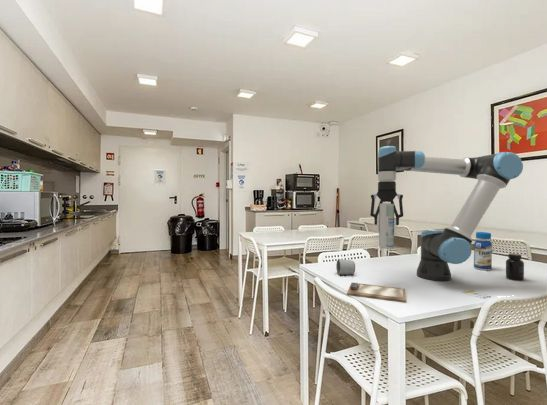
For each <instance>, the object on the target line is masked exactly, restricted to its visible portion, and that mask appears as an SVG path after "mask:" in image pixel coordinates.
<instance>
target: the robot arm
mask: <svg viewBox="0 0 547 405" xmlns="http://www.w3.org/2000/svg"><path fill="white" fill-rule="evenodd" d="M377 154H378V155H377V167H378V168H377V169H378V170H377V181H378V183H377V192H376V193H375V194H374V193H373V194H371V195H370V198H371V206H370V214H369V215H370V216H371V217H373V219H374V222H373V223H374V225H376V232H377V233H379V204H382V203H391V204H394V234H396V233H397V226H399V224H400V218H403V217H404V207H403V197H404V195H403V194H399V193H397V183H396V180H397V172H399V171H405V172H416V173H419V172H421V173H431V174H442V175H443V174H444V175H455V176H456V175H457V176H459V177H461V178H466V179H474V180H477V182H476V184H475V186H474V187H473V189H472V191H471V192H470V194H469V195H468V197H467V199H466V201H465V202H464V204H463V205H462V207H461V209H460V210H459V212H458V214H457V216H456V217H455V219H454V220H453V222H452V223H451V225H450V226H448V227H445V228H444V229H443V230H422V231H421V236H420V260H419V263H418V266H417V269H416V276H417V277H420V278H421V279H425V280H429V281H438V282H439V281H440V282H441V281H442V282H446V281H451V280H452V272H451V268H450V267H449V264H453V265H459V264H463V263H464V262H466V261H467V260H469V258H470V257H471V255H472V252H473V251H472V246H471V244H472V243H473V238H472V235H473V234H474V232H475V230H476V229H477V227H478V226H479V224H480V222H481V220H482V218H483V216H484V215H485V214H486V212H487V210H488V209H489V208H490V206H491V204H492V202H493V201H494V199H495V198H496V196H497V194H498V192H499V191H500V190H501V189H504V188H505V189H506V187H507V185H509V183H510V180H513V179H516V178H518V177H519V176H520V175H521V174H522V172H523V171H524V170H523V169H524V163H523V161H522V158H521V157H520V156H519V155H518V154H516V153H515V152H509V151H501V152H498V153H493V154H488V155H482V156H475V157H463V158H462V159H460V158H447V157H434V156H426V155H425V153H424V151H421V150H406V151H405V150H402V151H401V150H400V151H399V150H397V147H396V146H393V145H386V146H385V145H384V146H381V147H380V148H379V149H378V152H377ZM377 197H378V199H379V203H378V206H377V209H376V211H375V205H376V204H375V201H376V199H377ZM396 197H397V199H398V203H399V204H398V205H399V212H398V210H397V208H396V205H395V202H394V200H395V199H396ZM374 212H375V213H374ZM398 213H399V214H398Z"/></svg>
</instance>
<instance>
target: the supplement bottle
mask: <svg viewBox="0 0 547 405" xmlns="http://www.w3.org/2000/svg"><path fill="white" fill-rule="evenodd" d="M505 278H506V279H507V280H510V281H517V282H521V281H524V279H525V261H523V260H522V254H519V253H508V258H507V259H506V261H505Z"/></svg>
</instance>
